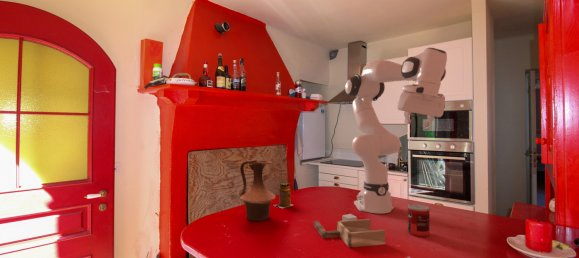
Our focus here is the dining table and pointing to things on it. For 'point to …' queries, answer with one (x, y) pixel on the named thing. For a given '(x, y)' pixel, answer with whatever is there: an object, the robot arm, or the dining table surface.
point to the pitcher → (256, 192)
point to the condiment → (284, 196)
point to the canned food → (418, 220)
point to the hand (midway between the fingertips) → (416, 125)
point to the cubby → (359, 233)
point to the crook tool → (325, 233)
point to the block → (348, 217)
